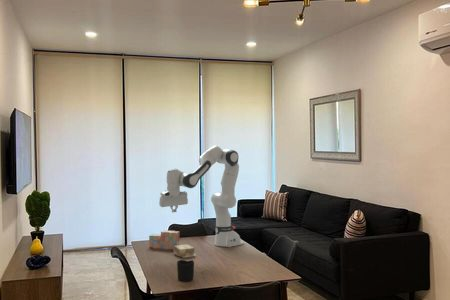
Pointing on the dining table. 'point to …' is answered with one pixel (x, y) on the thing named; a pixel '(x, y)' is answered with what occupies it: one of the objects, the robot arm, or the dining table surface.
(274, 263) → the dining table surface
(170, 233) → the stack of blocks
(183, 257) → the felt mat
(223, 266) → the dining table surface
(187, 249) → the oak block
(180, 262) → the pen holder
